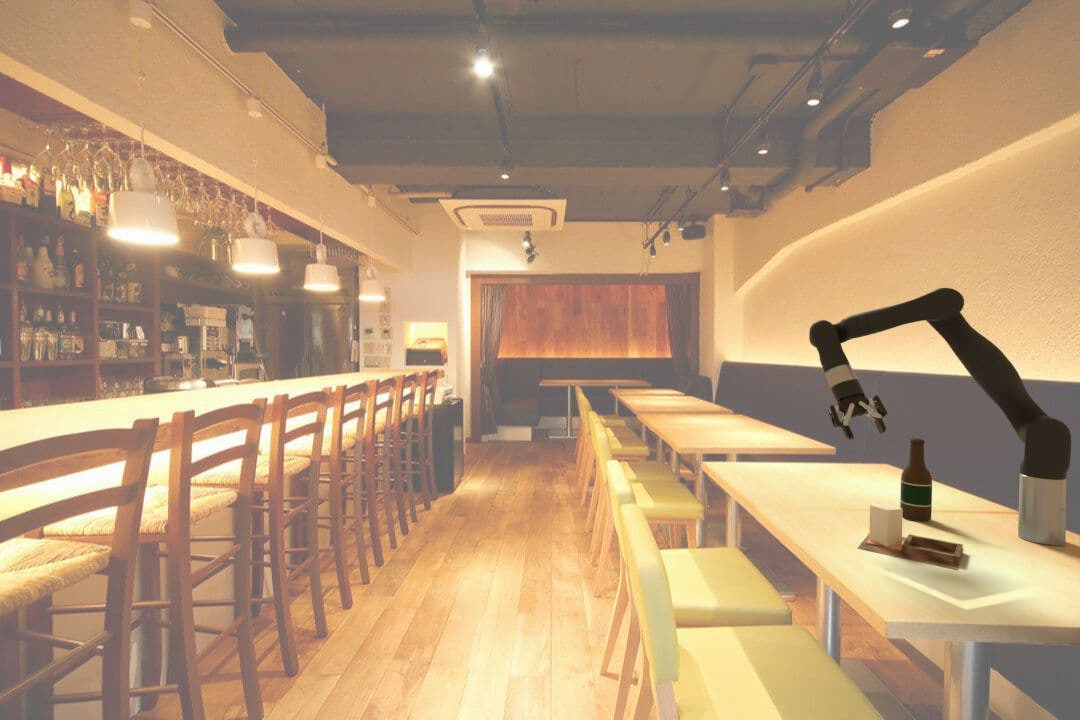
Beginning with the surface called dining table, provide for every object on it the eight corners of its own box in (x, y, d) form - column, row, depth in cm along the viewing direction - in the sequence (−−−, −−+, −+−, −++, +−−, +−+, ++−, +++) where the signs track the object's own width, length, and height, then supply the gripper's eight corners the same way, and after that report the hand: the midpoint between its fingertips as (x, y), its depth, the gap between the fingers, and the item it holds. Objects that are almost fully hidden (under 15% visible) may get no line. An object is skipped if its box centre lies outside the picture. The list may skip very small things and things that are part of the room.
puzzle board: (963, 553, 137) (963, 540, 136) (957, 575, 123) (958, 561, 123) (871, 535, 150) (871, 523, 150) (856, 553, 136) (857, 540, 136)
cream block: (883, 537, 143) (884, 503, 143) (901, 544, 138) (902, 508, 138) (869, 539, 141) (870, 505, 141) (887, 546, 137) (887, 510, 136)
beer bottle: (930, 523, 160) (932, 442, 160) (899, 518, 165) (900, 439, 164) (931, 517, 166) (933, 438, 166) (901, 512, 171) (902, 436, 170)
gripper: (823, 384, 158) (846, 438, 151) (873, 373, 156) (899, 426, 150) (815, 393, 164) (837, 444, 158) (864, 382, 163) (887, 433, 156)
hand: (867, 436), depth 154 cm, fingers open, 8 cm apart
